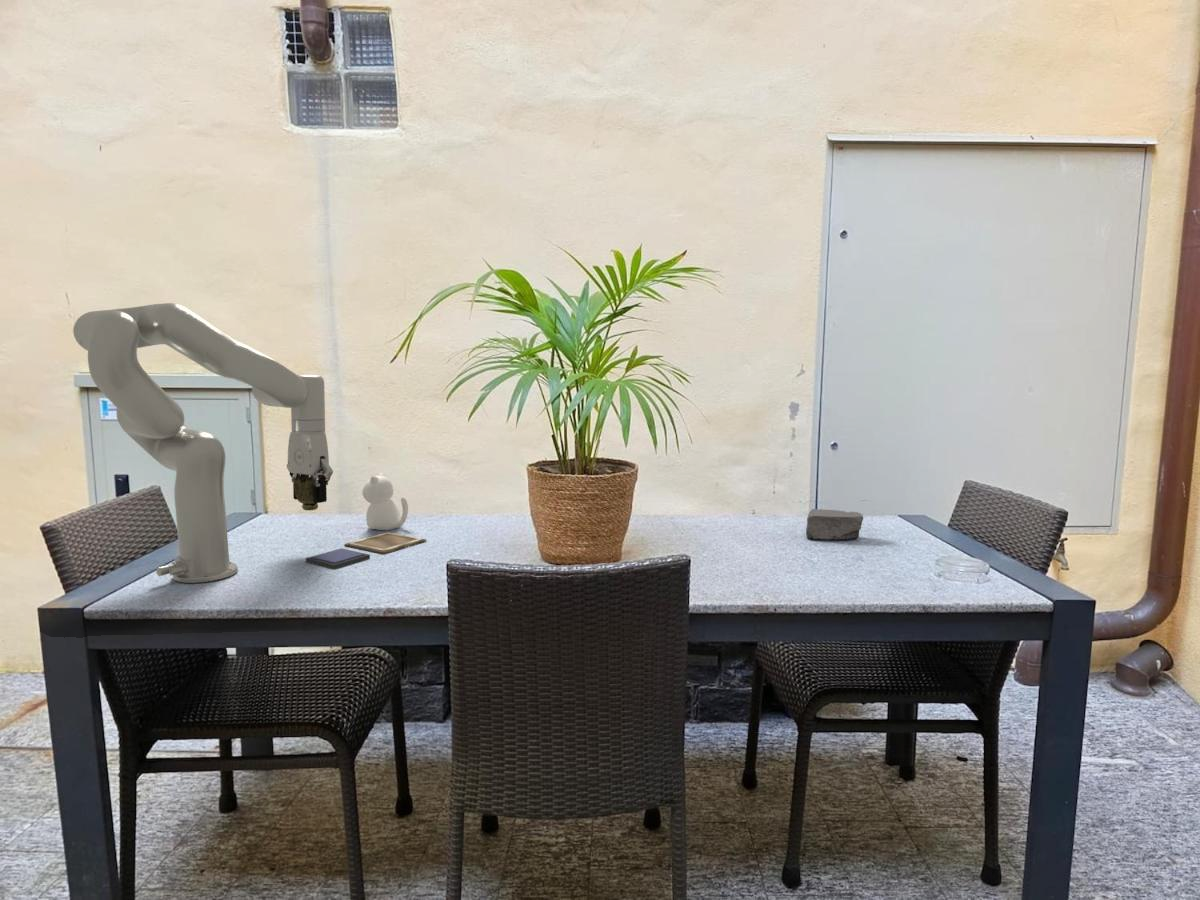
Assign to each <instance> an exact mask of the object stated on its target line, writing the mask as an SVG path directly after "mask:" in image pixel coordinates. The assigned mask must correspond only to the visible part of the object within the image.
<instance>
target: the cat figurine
mask: <svg viewBox="0 0 1200 900" xmlns="http://www.w3.org/2000/svg"><path fill="white" fill-rule="evenodd" d="M393 495H394V487H393V484H392V482H391V480H390V479H389V478H388V477H387V476H385V474H384V473H383V472H381V471H380V472H379V475H370V478H369V479H368V480H367V481H366V482H365V484H364V485H363V488H362V496H363V499H364V500H365V501H366V502H368V503H370V504H369V506H368V507H367V511H366V515H365V517H366V519H365V520H366V526H367V527H368V528H369V529H370V530H374V529H377V531H392V530H394V529H397V528H400V527H402V526H403V525H404V524H405V522H406V521H407V518H408V515H409V514H408V513H409V503H408V500H407V499H406V497H404V496H401V498H400V503H401V506H402V508H401V509H402V513H401V511H400V509H399V507H398V505H397V503H395V501H394V500H393V499H392V498H393ZM391 529H392V530H391Z"/></svg>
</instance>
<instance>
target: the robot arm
mask: <svg viewBox="0 0 1200 900" xmlns="http://www.w3.org/2000/svg"><path fill="white" fill-rule="evenodd" d="M72 331H73V332H72V333H73V336H74V339H75V342H77V344H78V346H80V347H81V348H83V349H84V350H85V351H87V364H88V369H89V370H88V371H89V374H90V376H91V379H92V381H93V382H94V384H95V385H96V387H97V389H98V390H99V391H100V392H101V393H102V394H103V395H104V396H105V397H106V398H107V399H108V400H109V401H110V402H111V403H112V405H114V407H115V408H116V419H117V422H118V424H119V426H120V427H121V429H122V431H123V432H125V433H126V434H127V435H128V436H129V437H130V438H131V439H132V440H133V441H134V442H135V443H136V444H137V445H139V446H140V448H142V449H143V450H144V451H145V452H146V453H147V454H148V455H149V456H150V457H151V458H152V459H154V460H155V461H156V462H157V463H158V464H160V465H161V466H163V467H164V468H166V469H169V470H171V471H175V472H176V474H175V481H174V495H173V496H174V497H173V498H174V508H175V516H176V517H175V519H176V530H177V531H176V532H177V541H178V542H177V543H178V553H179V554H178V555H179V556H177V557H174V561H173V562H171V564H168V565H166V564H165V565H161V566H157V567H156V570H155V571H156V575H157V576H158V577H162V576H165V575H170V576H172V578H173V580H174V581H175V582H178V583H184V584H185V583H186V584H197V583H198V584H200V583H206V582H207V583H209V582H213V581H214V580H215V581H219V580H222V579H226V578H228V577H231V576H233V575H235V574H236V573H238V570H239V569H238V565H237V564H236V563H234V562H231V561H230V555H229V541H228V540H229V539H228V529H227V528H228V526H227V516H226V515H227V514H226V511H227V510H226V500H225V488H224V487H225V484H224V483H225V479H224V478H225V470H226V469H225V468H226V451H225V447H224V446H223V444H222V442H221V441H220V440H219V438H218V437H216V436H215V435H213V434H211V433H210V432H207V431H204V430H199V429H192V428H188V427H187V426H186V425H185V413H184V411H183V409H182V408H181V406H180V404H179V403H178V402H176V400H175V399H173V398H172V397H171V396H170V395H169V394H168V393H167V392H166V391H165V390H164V389H163V388H162V387H161V386H159V384H158V383H156V381H155V380H154V379H152V377H151V376H150V375H149V374H148V373H147V371H145V369H144V368H143V367H142V366H141V364H140V362H139V360H138V353H137V352H138V349H139V348H140V349H141V348H145V347H152V346H157V345H166V346H167V347H170V348H171V349H173V350H174V351H176V352H178V353H180V354H182V356H185V357H186V358H188V359H189V360H191V361H193V362H194V363H196V364H198V365H199V366H200V367H203V368H204V369H205V370H207V371H209V372H210V373H213V374H215V375H218V376H220V377H223V378H227V379H231V380H235V381H238V382H241V383H243V384H246V385H248V386H251V387H252V388H251V391H252V395H253V397H254V399H256V400H257V402H259V403H261V404H263V405H264V406H269V407H277V408H287V409H290V412H291V413H290V415H291V417H290V418H291V420H290V421H291V422H290V425H291V431H290V432H289V437H288V446H287V464H286V468H287V470H288V472H289V475H290V478H291V483H292V486H293V487H292V491H293V493H292V495H293V499H294V500H297V498H296V495H295V489H294V482H293V478H294V477H295V478H296V477H298V478H299V477H300V476H302V478H303V477H305V476H306V475H307V476H309V477H310V476H313V479H314V482H315V485H316V486H314V503H317V504H319V503H320V504H321V503H325V502H327V498H328V497H327V495H328V494H327V486H328V485H329V482H330V480H331V477H332V475H333V474H334V470H333V468H332V467H331V466H330V460H329V459H330V456H329V449H328V448H329V446H328V441H327V440H328V439H327V434H326V410H325V409H326V407H325V406H326V404H325V403H326V401H325V399H326V398H325V397H326V396H325V379H324V377H322V375H318V374H296V373H295V372H294V371H292V370H290V369H289V368H287V367H286V366H285V365H283V364H282V363H279V361H277V360H275V359H273V358H271V357H269V356H267V355H265V354H263V353H262V352H260V351H257V350H255V349H253V348H252V347H250V346H248V345H246V344H244V343H241V342H239V341H237V340H236V339H234V338H232V337H231V336H229V335H228V334H226V333H225V332H223V331H222V330H220V329H218V327H215V326H213V324H212V323H210V322H208V321H207V320H205V319H204V318H202V317H201V316H199V315H198V314H196V313H195V312H194V311H192V310H190V309H188V308H187V307H186V306H183V305H181V304H179V303H178V304H177V303H173V302H167V303H166V302H165V303H154V304H153V303H152V304H147V305H140V306H134V307H133V306H132V307H126V308H125V307H123V308H115V309H114V308H113V309H104V310H93V311H88V312H85V313H83V314H82V315H80V316H79V317H77V319H76V321H75V322H74V326H73V330H72ZM318 476H321V478H320V479H319V478H318ZM218 579H219V580H218ZM208 581H209V582H208Z"/></svg>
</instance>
